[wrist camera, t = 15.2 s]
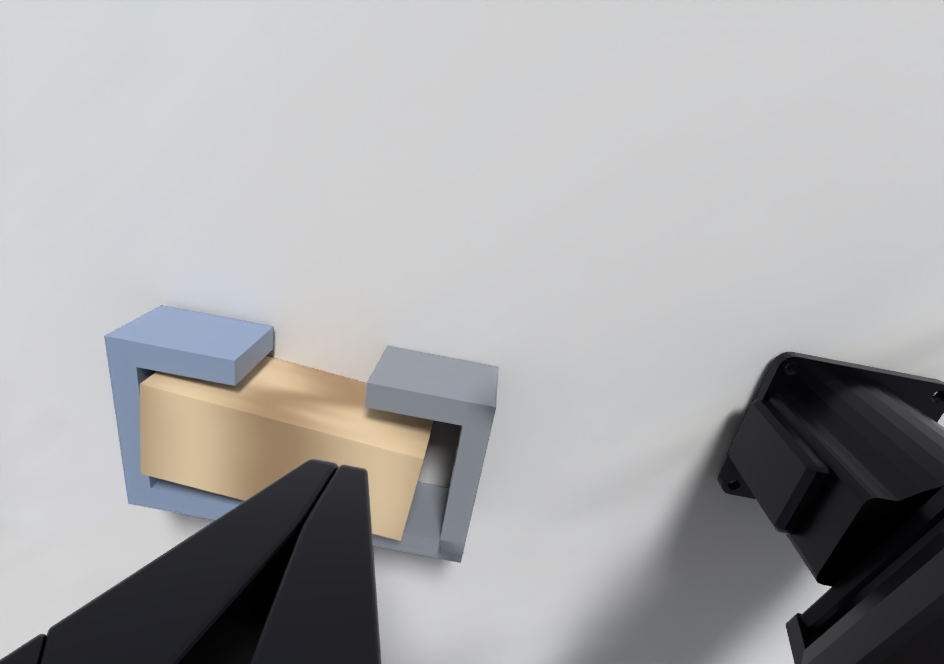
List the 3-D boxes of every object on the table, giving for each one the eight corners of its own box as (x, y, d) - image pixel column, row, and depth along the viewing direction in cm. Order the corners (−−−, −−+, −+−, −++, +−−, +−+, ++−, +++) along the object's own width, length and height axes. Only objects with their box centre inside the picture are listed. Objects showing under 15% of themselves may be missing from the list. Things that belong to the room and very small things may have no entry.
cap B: (273, 326, 20) (234, 360, 17) (271, 475, 23) (238, 524, 20) (161, 305, 20) (104, 335, 17) (175, 456, 23) (128, 503, 20)
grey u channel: (498, 367, 20) (495, 407, 17) (466, 509, 23) (460, 562, 20) (387, 346, 20) (367, 382, 17) (370, 490, 23) (351, 541, 20)
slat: (439, 399, 21) (423, 459, 17) (418, 472, 22) (400, 540, 19) (206, 336, 21) (139, 383, 17) (202, 414, 22) (140, 473, 18)
